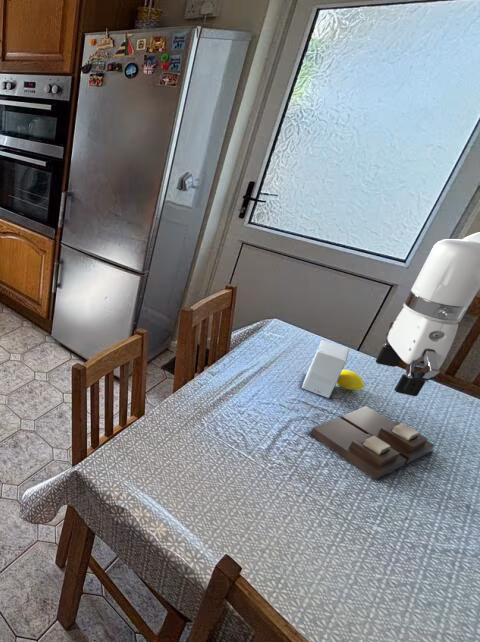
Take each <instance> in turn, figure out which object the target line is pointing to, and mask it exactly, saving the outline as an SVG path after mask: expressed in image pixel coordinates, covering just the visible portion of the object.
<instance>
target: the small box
mask: <svg viewBox="0 0 480 642" xmlns="http://www.w3.org/2000/svg"><path fill="white" fill-rule="evenodd" d="M349 353H350V348H348V347H345V346H342V345H339V344H336V343H333V342H330V341H326V340H323V339H322V340H321V341H320V343H319V346H318V347H317V349H316V352H315V354H314V356H313V358H312V361H311V363H310V366H309V368H308V370H307V372H306V375H305V376H304V379H303V383H302V386H301V388H302V389H304V390H306V391H309V392H311V393H314V394H317V395H319V396H322V397H325V398H327V399H330V397H331V395H332V393H333V391H334V389H335V386H336V385H337V383H336V382H337V380H338V378H339V376H340V374H341V372H342V370H344V368H345V365H346V363H347V361H348V356H349Z"/></svg>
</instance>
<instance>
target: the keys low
mask: <svg viewBox="0 0 480 642" xmlns="http://www.w3.org/2000/svg"><path fill="white" fill-rule="evenodd" d="M340 418H341V419H343V420H345V421H346V422H348V423H349V424H351V425H353V426H354V427H356V428H357V429H359V430H361V431H362V432H364V433H365V434H370V435H372V436H375V437H377V438H379V439H380V440H382V441H384V442H385V443H387V444H388V445H390V447H391V448H393V449H394V450H396V451H397V452H399V453H400V454H399V455H401V456H402V457H404V458H406V459H407V460H406V461H405V463H404V465H407V464H409V463H412V462H413V461H415V460H417V459H419V458H421V457H423V456H425V455H427V454H429V453H431V451H433V449H434V447H435V444H433V443H431V442H430V441H429V439H428V438H427V437H425V436H424V435H422V434H420V433H419V434H418V435H417V437H416V438H414V439H412V440H410V441H408V440H406V439H404V438H403V437H401V436H399V435H398V434H396V433H394V432H393V431H392V430H393V428H394V427H395V426H397V425H399V424H401V422H399V421H397V420H396V421H393V420H391V419H389V418H388V417H386V416H384V415H382V414H381V413H379V412H377V411H376V410H374V409H372V408H370V407H368V406H367V405H365V406H362V407H359V408H358V409H355V410H353V411H350V412H348V413H345V414H343V415H341V416H340Z"/></svg>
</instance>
